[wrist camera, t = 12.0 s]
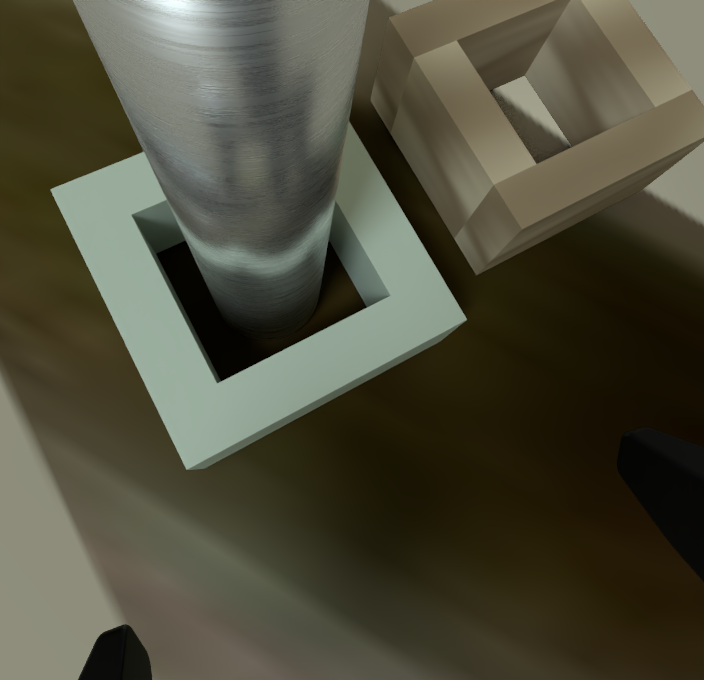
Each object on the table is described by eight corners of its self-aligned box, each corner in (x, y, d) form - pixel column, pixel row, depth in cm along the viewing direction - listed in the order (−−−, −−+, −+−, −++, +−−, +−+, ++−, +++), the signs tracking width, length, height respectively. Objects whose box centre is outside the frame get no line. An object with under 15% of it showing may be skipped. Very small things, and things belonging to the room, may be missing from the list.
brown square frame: (642, 189, 21) (720, 128, 18) (476, 275, 20) (521, 229, 16) (535, 31, 23) (586, -58, 19) (370, 100, 21) (388, 17, 17)
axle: (337, 311, 19) (456, -76, 5) (243, 358, 18) (104, 50, 5) (289, 225, 19) (287, -328, 6) (196, 268, 19) (-53, -250, 5)
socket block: (440, 341, 19) (466, 319, 16) (203, 469, 17) (186, 469, 14) (319, 134, 20) (324, 79, 17) (87, 232, 18) (50, 189, 16)
